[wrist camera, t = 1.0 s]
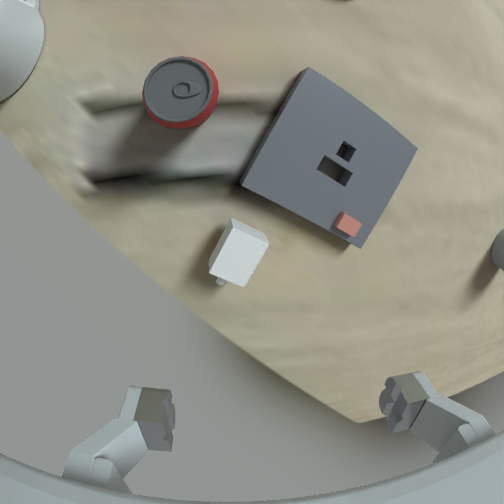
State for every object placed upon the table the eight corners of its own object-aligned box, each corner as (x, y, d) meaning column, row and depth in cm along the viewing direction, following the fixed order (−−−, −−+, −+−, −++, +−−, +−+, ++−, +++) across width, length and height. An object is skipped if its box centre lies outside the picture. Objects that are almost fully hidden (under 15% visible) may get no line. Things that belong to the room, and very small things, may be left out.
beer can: (214, 128, 34) (217, 129, 23) (158, 128, 32) (134, 130, 22) (217, 74, 31) (222, 51, 20) (161, 74, 30) (139, 52, 19)
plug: (203, 263, 40) (203, 284, 35) (229, 212, 38) (233, 227, 33) (233, 276, 41) (237, 298, 36) (261, 227, 39) (269, 244, 34)
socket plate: (239, 181, 36) (242, 187, 33) (302, 70, 32) (311, 65, 29) (352, 241, 42) (363, 251, 39) (407, 146, 37) (422, 149, 34)
